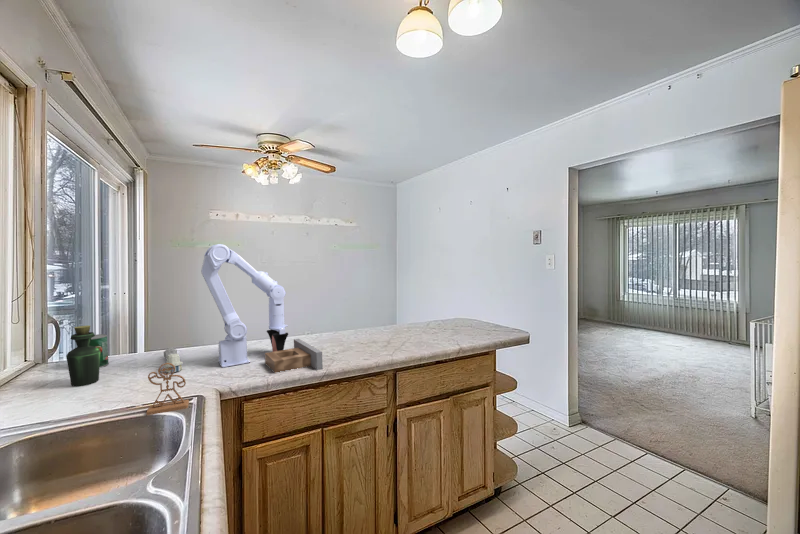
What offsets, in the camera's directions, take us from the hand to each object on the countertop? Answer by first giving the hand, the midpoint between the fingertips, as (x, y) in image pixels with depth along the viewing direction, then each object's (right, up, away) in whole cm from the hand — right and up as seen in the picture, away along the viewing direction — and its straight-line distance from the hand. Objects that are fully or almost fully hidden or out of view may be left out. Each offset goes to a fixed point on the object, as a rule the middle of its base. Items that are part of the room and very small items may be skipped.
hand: (277, 349), depth 138 cm
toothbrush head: (-36, -4, -9) cm, 37 cm away
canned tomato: (-64, -4, -10) cm, 64 cm away
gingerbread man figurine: (-12, -5, -47) cm, 49 cm away
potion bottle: (-51, -5, -27) cm, 58 cm away
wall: (+14, -3, -8) cm, 17 cm away
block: (+8, -3, -13) cm, 15 cm away
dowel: (0, -2, 0) cm, 2 cm away
